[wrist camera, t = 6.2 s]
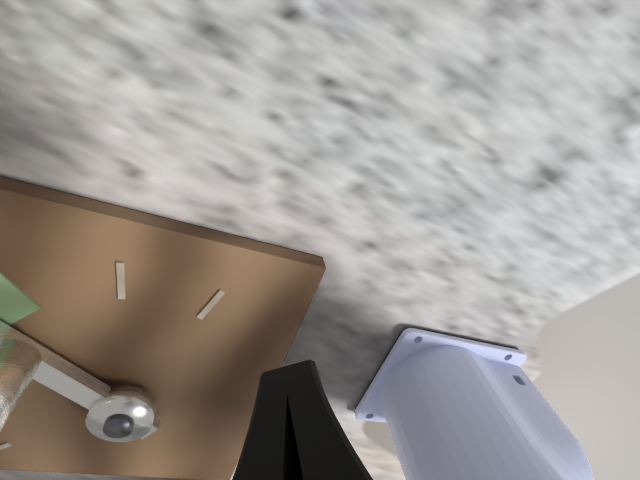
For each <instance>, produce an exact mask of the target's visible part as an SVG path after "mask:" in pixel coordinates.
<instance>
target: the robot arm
mask: <svg viewBox="0 0 640 480" xmlns="http://www.w3.org/2000/svg"><path fill="white" fill-rule="evenodd" d="M418 336H419V337H418ZM416 337H417V338H416ZM525 360H526V355H525V353H524V352H523V351H521V350H517V349H512V348H507V347H502V346H497V345H492V344H487V343H483V342H478V341H473V340H468V339H463V338H458V337H454V336H449V335H444V334H439V333H434V332H429V331H424V330H420V329H415V328H408V329H405V330H404V331H403V332H402V333H401V335H400V337H399V338H398V340H397V342H396V343H395V345H394V347H393V348H392V350H391V351H390V353H389V355H388V356H387V358H386V360H385V361H384V363H383V365H382V366H381V368H380V370H379V371H378V373H377V375H376V376H375V378H374V380H373V381H372V383H371V385H370V386H369V388H368V389H367V391H366V393H365V394H364V396H363V398H362V399H361V401H360V403H359V404H358V406H357V408H356V409H355V416H356V418H357V419H360V420H368V421H378V422H385V423H387V425H388V428H389V431H390V434H391V437H392V440H393V443H394V446H395V449H396V452H397V454H398V458H399V460H400V463H401V466H402V469H403V472H404V475H405V478H406V480H594V476H593V472H592V469H591V466H590V463H589V460H588V458H587V455H586V454H585V452H584V450H583V448H582V446H581V445H580V443H579V442H578V441H577V439H576V438H575V437H574V436H573V434H572V433H571V432H570V430H569V429H568V428H567V426H566V425H565V424H564V423H563V421H562V420H561V419H560V418H559V416H558V415H557V414H556V412H555V411H554V410H553V409H552V407H551V406H550V405H549V403H548V402H547V401H546V400H545V398H544V397H543V396H542V394H541V393H540V392H539V391H538V389H537V388H536V387H535V386H534V384H533V383H532V382H531V380H530V379H529V378H528V377H527V375H526V374H525V373H524V371H523V370H522V369H521V368H520V366H521V365H522V364H523V363H524V361H525ZM232 480H373V479H372V477H371V476H370V474H369V473H368V471H367V470H366V468H365V466H364V465H363V463H362V462H361V460H360V458H359V457H358V455H357V454H356V452H355V450H354V448H353V447H352V445H351V443H350V442H349V440H348V438H347V436H346V435H345V433H344V431H343V429H342V427H341V425H340V423H339V422H338V420H337V418H336V416H335V414H334V412H333V410H332V408H331V406H330V404H329V402H328V399H327V397H326V395H325V393H324V390H323V387H322V383H321V380H320V377H319V374H318V370H317V367H316V364H315V362H314V361H312V360H307V361H303V362H299V363H296V364H292V365H288V366H285V367H281V368H277V369H274V370H270V371H266V372H263V373H262V375H261V376H260V380H259V386H258V391H257V396H256V400H255V405H254V409H253V413H252V417H251V420H250V424H249V428H248V431H247V435H246V438H245V442H244V445H243V448H242V452H241V455H240V458H239V462H238V465H237V468H236V471H235V474H234V476H233V479H232Z"/></svg>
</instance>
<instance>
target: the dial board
mask: <svg viewBox="0 0 640 480" xmlns="http://www.w3.org/2000/svg"><path fill="white" fill-rule="evenodd" d="M325 269H326V267H325V264H324V261H323V257H319V256H315V255H311V254H307V253H303V252H299V251H295V250H291V249H287V248H283V247H279V246H275V245H271V244H267V243H263V242H259V241H255V240H251V239H247V238H243V237H239V236H235V235H231V234H227V233H223V232H219V231H215V230H211V229H207V228H203V227H199V226H195V225H191V224H187V223H183V222H179V221H175V220H171V219H168V218H164V217H160V216H156V215H152V214H148V213H144V212H140V211H136V210H132V209H128V208H124V207H120V206H116V205H112V204H108V203H104V202H100V201H96V200H92V199H88V198H84V197H80V196H76V195H72V194H68V193H64V192H60V191H56V190H52V189H48V188H44V187H40V186H36V185H32V184H28V183H24V182H20V181H16V180H12V179H8V178H5V177H1V176H0V321H2V322H4V323H5V324H7V325H9V326H10V327H12V328H13V329H15V330H17V331H18V332H20V333H22V334H23V335H25V336H27V337H28V338H30V339H32V340H33V341H35V342H37V343H38V344H40V345H42V346H43V347H45V348H47V349H48V350H50V351H52V352H53V353H55V354H57V355H58V356H60V357H62V358H63V359H65V360H67V361H68V362H70V363H72V364H73V365H75V366H77V367H78V368H80V369H81V370H83V371H85V372H86V373H88V374H90V375H91V376H93V377H95V378H96V379H98V380H100V381H101V382H103V383H105V384H106V385H108V386H110V387H114V386H133V387H138V388H141V389H143V390H145V391H147V392H148V393H150V394H151V395H152V396H153V397H154V399H155V401H156V404H157V409H156V413H155V414H156V415H158V416H159V417H161V422H160V426H159V429H158V430H156V431H155V432H153V433H152V434H150V435H149V436H147V437H145V438H144V439H141V438H139V439H136V440H133V441H128V442H111V441H106V440H103V439H100V438H98V437H96V436H94V435H93V434H92V433H91V432H90V431H89V430H88V429H87V427H86V422H85V421H86V417H87V414H88V412H89V410H88V409H87V408H85V407H83V406H81V405H79V404H78V403H76V402H74V401H72V400H70V399H68V398H67V397H65V396H63V395H61V394H59V393H58V392H56V391H54V390H52V389H50V388H48V387H47V386H45V385H43V384H41V383H39V382H37V381H36V380H34V379H32V380H31V382H30V383H29V385H28V387H27V388H26V390H25V392H24V393H23V395H22V397H21V398H20V400H19V402H18V403H17V405H16V407H15V408H14V410H13V412H12V413H11V415H10V417H9V418H8V420H7V422H6V423H5V425H4V427H3V428H2V430H1V432H0V469H4V470H23V471H42V472H61V473H80V474H99V475H118V476H137V477H156V478H175V479H194V480H230V478H231V476H232V474H233V472H234V469H235V467H236V465H237V463H238V461H239V458H240V455H241V452H242V448H243V445H244V442H245V438H246V435H247V431H248V428H249V424H250V420H251V417H252V413H253V409H254V405H255V400H256V396H257V391H258V386H259V380H260V376H261V375H262V373H263V372H266V371H270V370H274V369H277V368H281V366H282V364H283V361H284V359H285V357H286V355H287V353H288V350H289V348H290V346H291V344H292V342H293V339H294V337H295V335H296V333H297V331H298V328H299V326H300V324H301V322H302V320H303V317H304V315H305V313H306V311H307V309H308V306H309V304H310V302H311V300H312V298H313V295H314V293H315V291H316V289H317V287H318V284H319V282H320V280H321V278H322V276H323V273H324V271H325Z"/></svg>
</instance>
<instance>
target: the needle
mask: <svg viewBox="0 0 640 480" xmlns="http://www.w3.org/2000/svg"><path fill="white" fill-rule="evenodd" d="M32 379H34V380H36V381H37V382H39V383H41V384H43V385H45V386H47V387H48V388H50V389H52V390H54V391H56V392H58V393H59V394H61V395H63V396H65V397H67V398H68V399H70V400H72V401H74V402H76V403H78V404H79V405H81V406H83V407H85V408H87V409H88V410H89V412H88V414H87V417H86V421H85V422H86V427H87V429H88V430H89V431H90V432H91V433H92V434H93V435H94V436H96V437H98V438H100V439H103V440H106V441H111V442H128V441H133V440H136V439H139V438H141V439H144V438H145V437H147V436H149V435H150V434H152V433H153V432H155V431H156V430H158V429H159V426H160V422H161V417H159V416H158V415H156V414H155V413H156V409H157V404H156V401H155V399H154V397H153V396H152V395H151V394H150V393H148V392H147V391H145V390H143V389H141V388H138V387H133V386H114V387H110V386H108V385H106V384H105V383H103V382H101V381H100V380H98V379H96V378H95V377H93V376H91V375H90V374H88V373H86V372H85V371H83V370H81V369H80V368H78V367H77V366H75V365H73V364H72V363H70V362H68V361H67V360H65V359H63V358H62V357H60V356H58V355H57V354H55V353H53V352H52V351H50V350H48V349H47V348H45V347H43V346H42V345H40V344H38V343H37V342H35V341H33V340H32V339H30V338H28V337H27V336H25V335H23V334H22V333H20V332H18V331H17V330H15V329H13V328H12V327H10V326H9V325H7V324H5V323H4V322H2V321H0V432H1V430H2V428H3V427H4V425H5V423H6V422H7V420H8V418H9V417H10V415H11V413H12V412H13V410H14V408H15V407H16V405H17V403H18V402H19V400H20V398H21V397H22V395H23V393H24V392H25V390H26V388H27V387H28V385H29V383H30V382H31V380H32Z"/></svg>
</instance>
